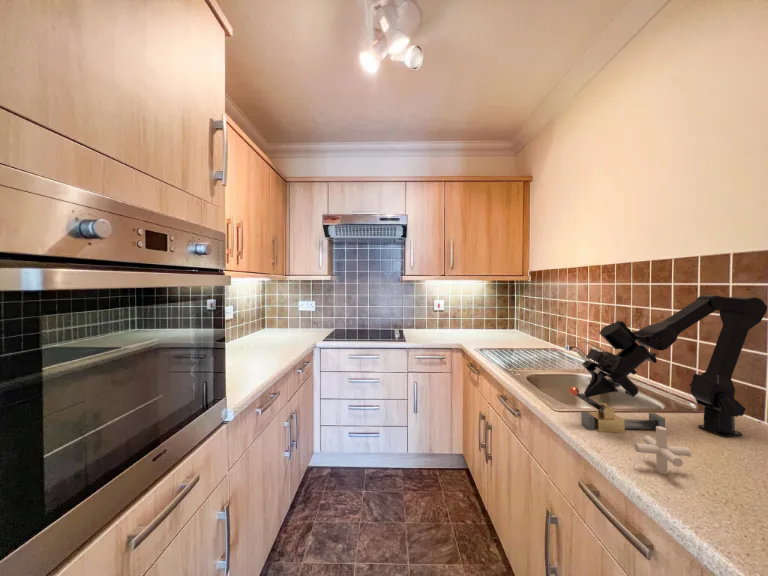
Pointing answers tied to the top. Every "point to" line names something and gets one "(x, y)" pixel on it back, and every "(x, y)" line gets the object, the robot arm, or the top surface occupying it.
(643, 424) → the valve pipe
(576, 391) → the valve lever
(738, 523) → the top surface
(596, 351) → the robot arm
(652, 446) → the pipe connector
